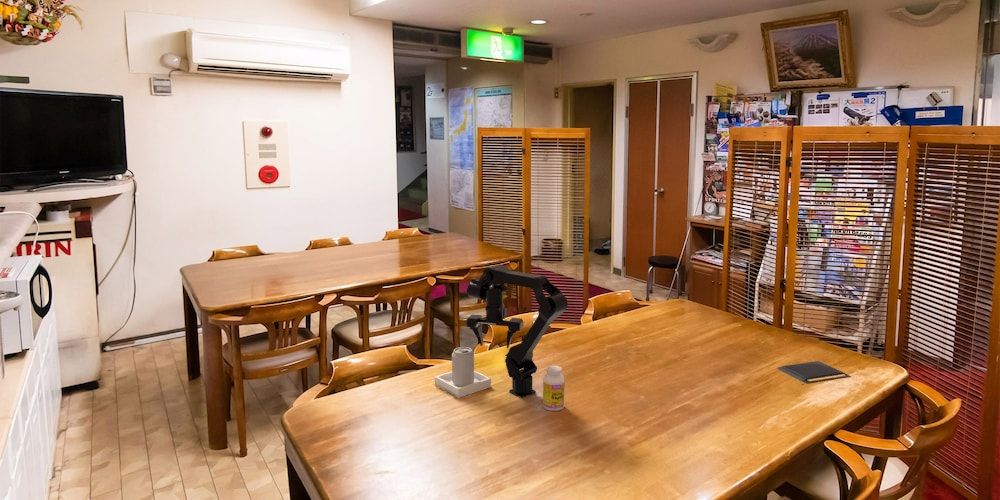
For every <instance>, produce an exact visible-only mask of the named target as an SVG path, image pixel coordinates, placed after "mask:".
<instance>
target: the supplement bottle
mask: <svg viewBox="0 0 1000 500" xmlns="http://www.w3.org/2000/svg"><path fill="white" fill-rule="evenodd" d="M562 373H563V368H562V367H561V366H557V365H549V366H547V367H546V374H545V375H544V376H543V379H542V381H543V383H542V386H543V387H542V406H543V408H544V409H545V410H547V411H549V412H550V411H551V412H558V411H561V410H563V409H564V407H565V382H566V381H565V377H564V375H563V374H562Z"/></svg>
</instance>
